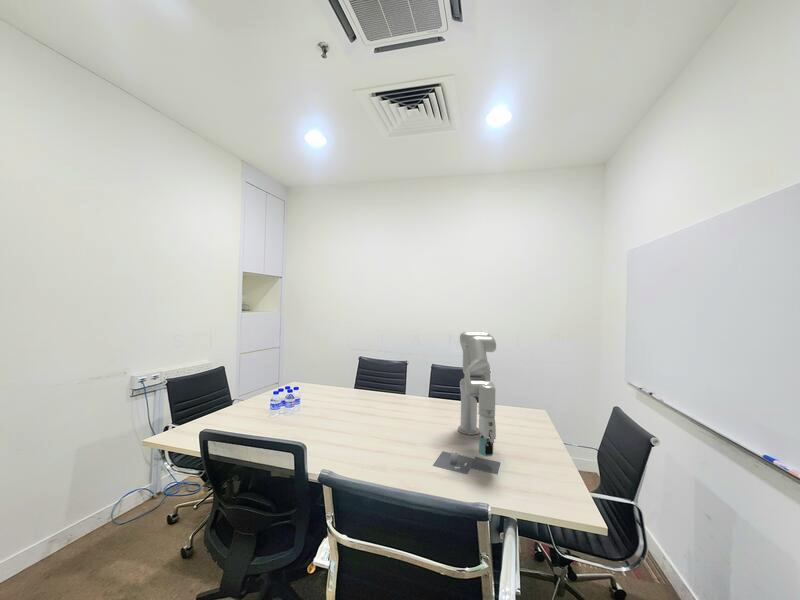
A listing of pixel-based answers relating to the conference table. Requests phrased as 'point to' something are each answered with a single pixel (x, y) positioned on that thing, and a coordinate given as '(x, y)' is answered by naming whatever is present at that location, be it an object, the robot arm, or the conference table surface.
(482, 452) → the cap
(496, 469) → the mat
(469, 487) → the conference table surface
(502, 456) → the conference table surface
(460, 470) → the post plate
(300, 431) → the conference table surface
